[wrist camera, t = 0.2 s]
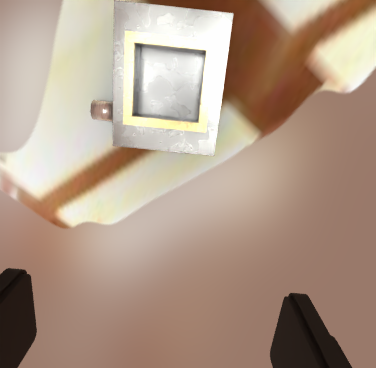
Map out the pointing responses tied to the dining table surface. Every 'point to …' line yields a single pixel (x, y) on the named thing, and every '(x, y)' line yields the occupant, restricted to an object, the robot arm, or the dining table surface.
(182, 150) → the grey square socket base
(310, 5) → the dining table surface
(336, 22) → the dining table surface
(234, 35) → the dining table surface
